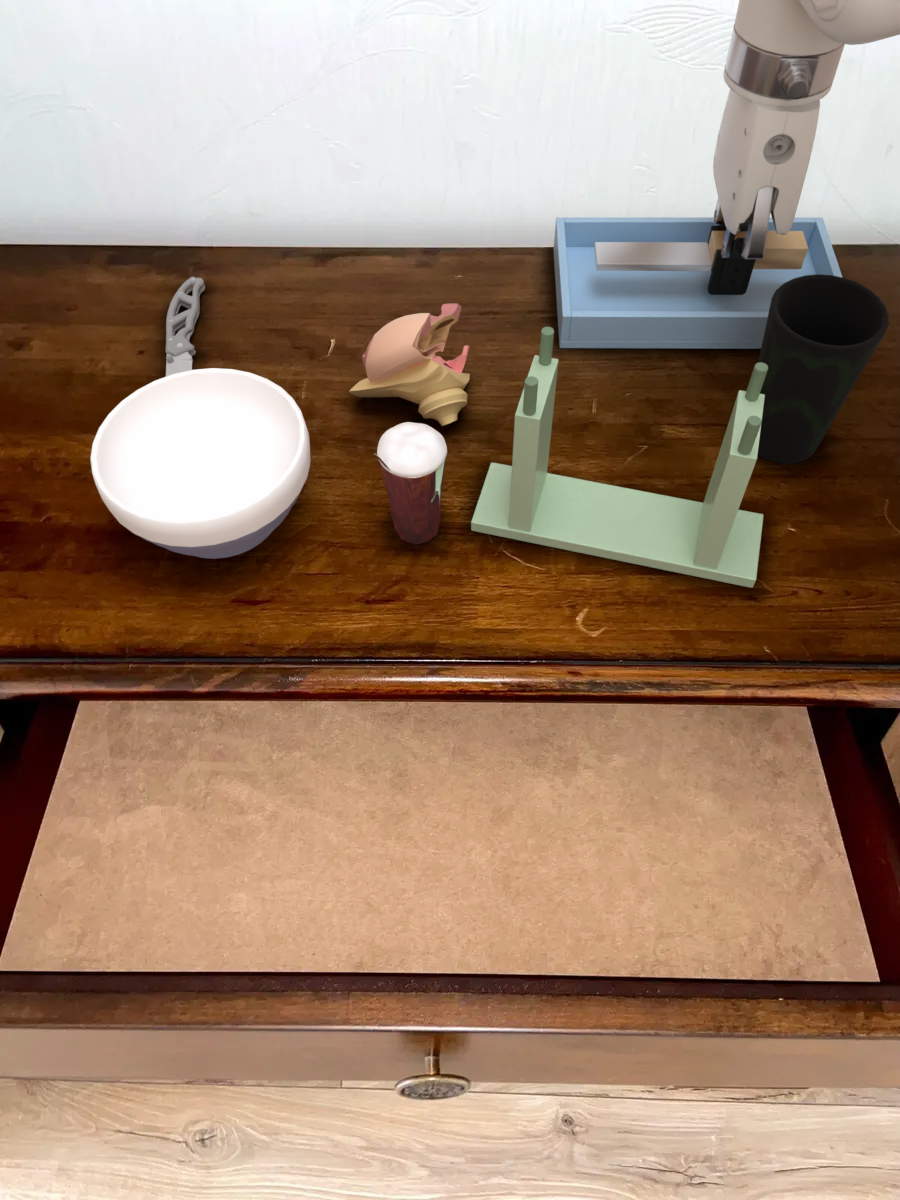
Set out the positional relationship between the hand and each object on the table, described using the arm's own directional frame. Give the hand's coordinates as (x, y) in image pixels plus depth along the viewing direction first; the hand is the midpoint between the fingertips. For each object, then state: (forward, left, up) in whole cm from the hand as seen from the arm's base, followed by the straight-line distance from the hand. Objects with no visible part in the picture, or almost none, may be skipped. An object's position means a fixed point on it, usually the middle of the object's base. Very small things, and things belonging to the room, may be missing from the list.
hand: (723, 278), depth 81 cm
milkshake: (+18, +32, -2) cm, 37 cm away
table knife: (+3, +1, +2) cm, 3 cm away
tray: (+2, +1, -2) cm, 3 cm away
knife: (+42, +18, -2) cm, 46 cm away
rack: (+4, +28, -2) cm, 28 cm away
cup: (-6, +16, -2) cm, 17 cm away
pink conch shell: (+22, +19, -2) cm, 29 cm away
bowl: (+32, +34, -2) cm, 47 cm away
